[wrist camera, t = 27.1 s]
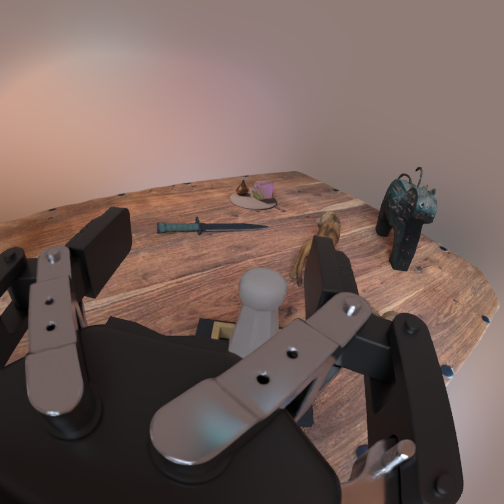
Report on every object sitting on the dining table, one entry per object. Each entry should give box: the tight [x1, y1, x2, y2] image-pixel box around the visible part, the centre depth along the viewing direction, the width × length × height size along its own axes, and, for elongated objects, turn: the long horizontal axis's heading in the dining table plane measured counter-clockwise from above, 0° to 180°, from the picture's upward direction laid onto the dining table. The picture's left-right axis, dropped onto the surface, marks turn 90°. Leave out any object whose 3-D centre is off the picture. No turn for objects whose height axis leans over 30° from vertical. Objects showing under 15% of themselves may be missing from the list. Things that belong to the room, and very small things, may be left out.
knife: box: [157, 217, 269, 235], centre depth 62 cm, size 23×2×5 cm
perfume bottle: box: [230, 180, 277, 210], centre depth 76 cm, size 12×12×4 cm
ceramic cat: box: [376, 167, 437, 271], centre depth 58 cm, size 20×6×20 cm, turn 172°
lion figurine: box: [290, 211, 341, 286], centre depth 51 cm, size 15×5×9 cm, turn 153°
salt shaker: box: [229, 267, 287, 358], centre depth 30 cm, size 6×6×13 cm
